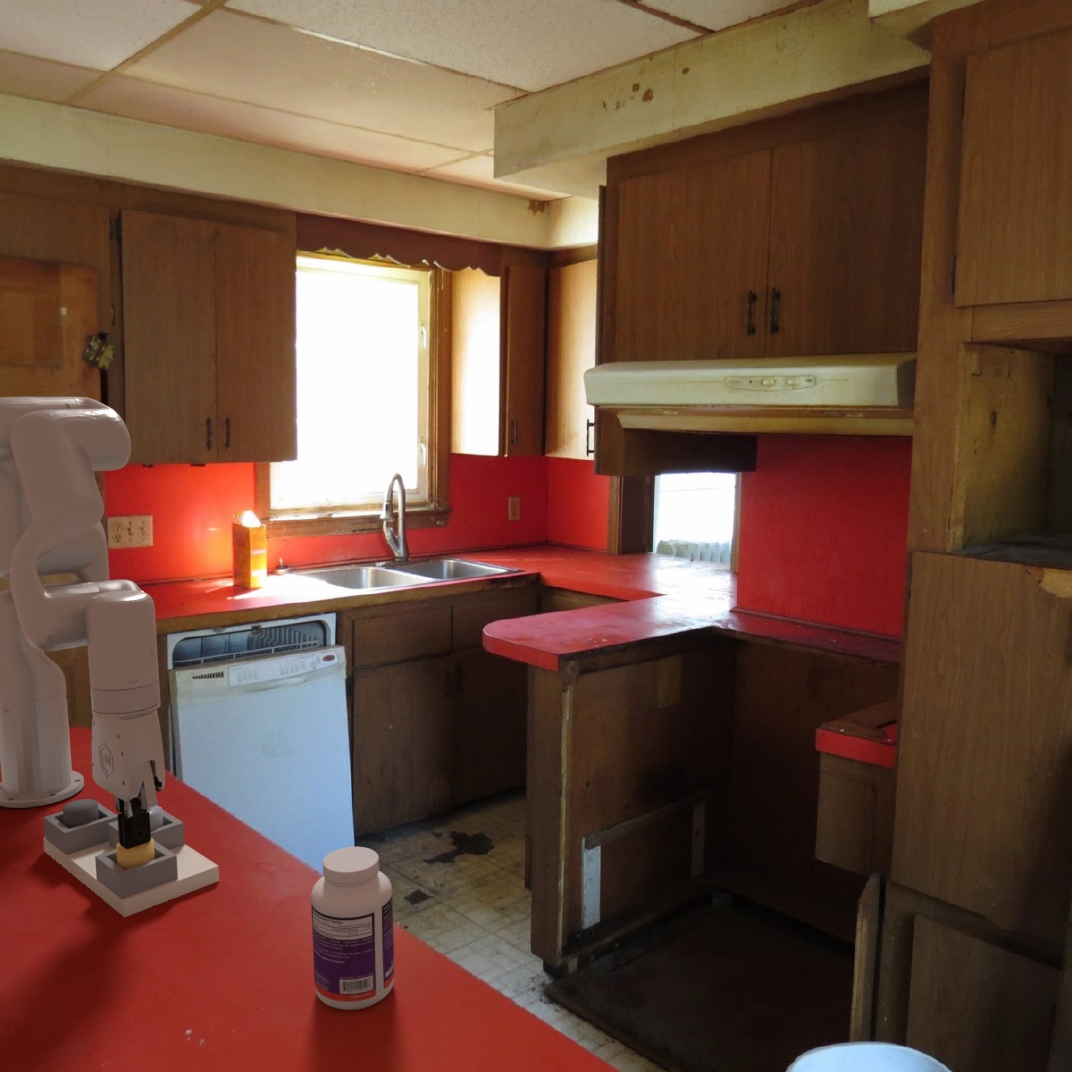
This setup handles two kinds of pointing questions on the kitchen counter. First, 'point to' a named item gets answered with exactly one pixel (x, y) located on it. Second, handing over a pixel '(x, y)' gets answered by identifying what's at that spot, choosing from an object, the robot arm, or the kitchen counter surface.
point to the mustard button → (135, 855)
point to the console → (137, 887)
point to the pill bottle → (352, 930)
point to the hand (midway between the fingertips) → (135, 843)
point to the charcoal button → (80, 812)
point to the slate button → (156, 817)
